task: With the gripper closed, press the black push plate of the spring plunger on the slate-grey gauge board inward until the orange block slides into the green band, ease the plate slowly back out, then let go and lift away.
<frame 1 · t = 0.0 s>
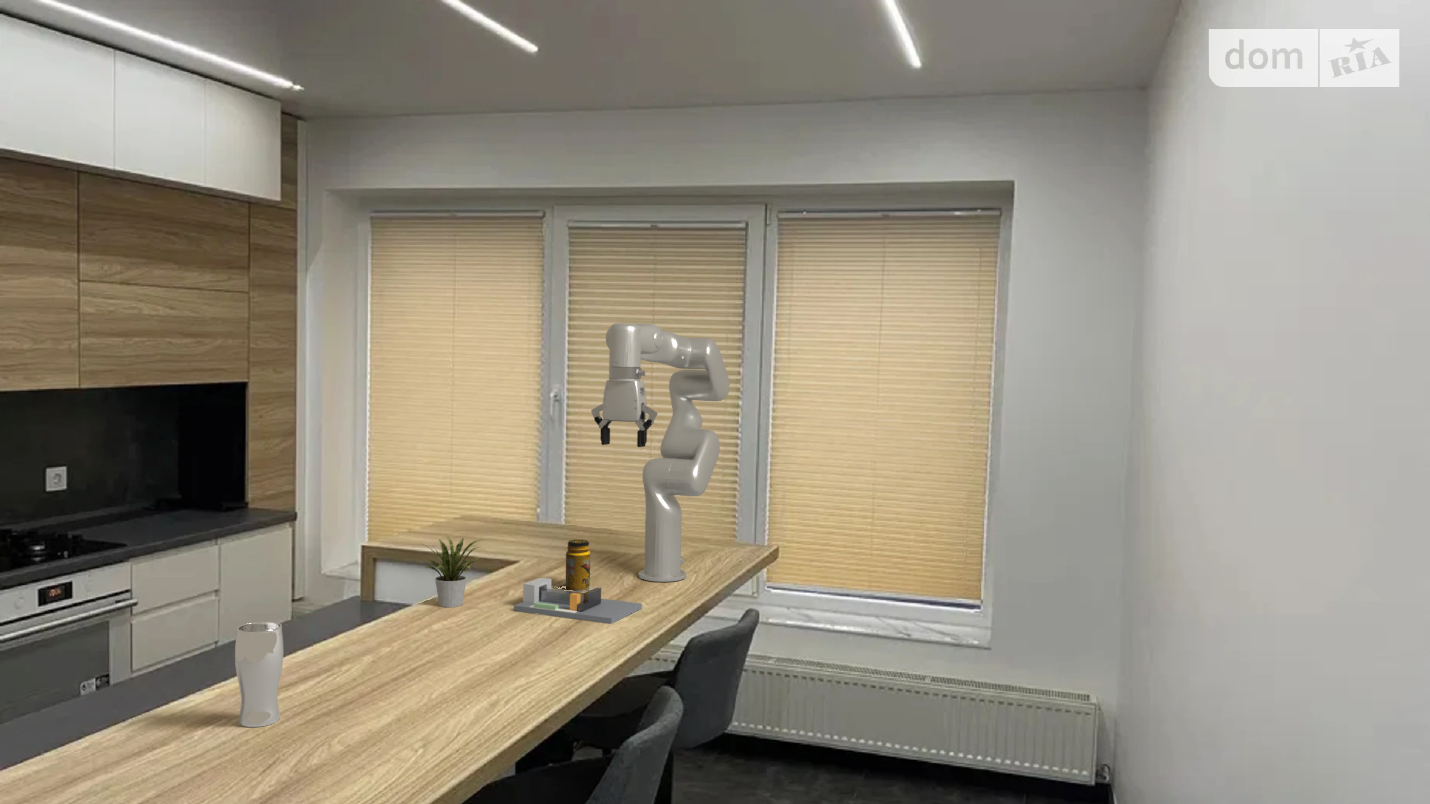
hand: (623, 445, 249), 37 cm above the counter, tool pointing down, fingers open, 9 cm apart
gauge board: (578, 609, 237), on the counter
beer glass: (259, 721, 163), on the counter
house plant: (456, 605, 239), on the counter
condiment: (574, 589, 258), on the counter
plunger: (562, 596, 237), point 3 cm above the counter, slide at 0.0 cm
orange block: (575, 601, 232), point 3 cm above the counter, slide at 0.0 cm
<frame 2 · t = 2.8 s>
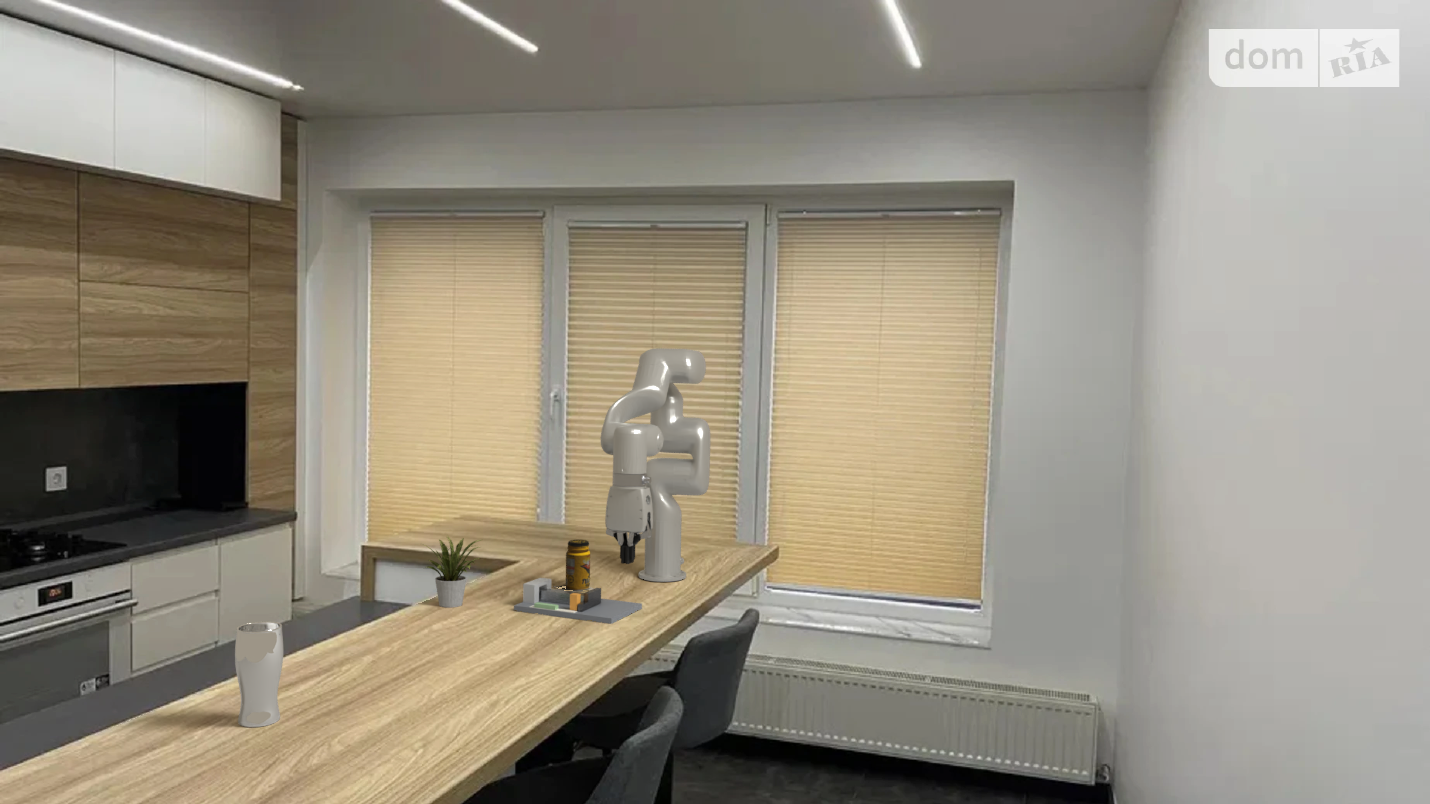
hand: (627, 562, 231), 12 cm above the counter, tool pointing down, fingers closed
nothing on the counter moved.
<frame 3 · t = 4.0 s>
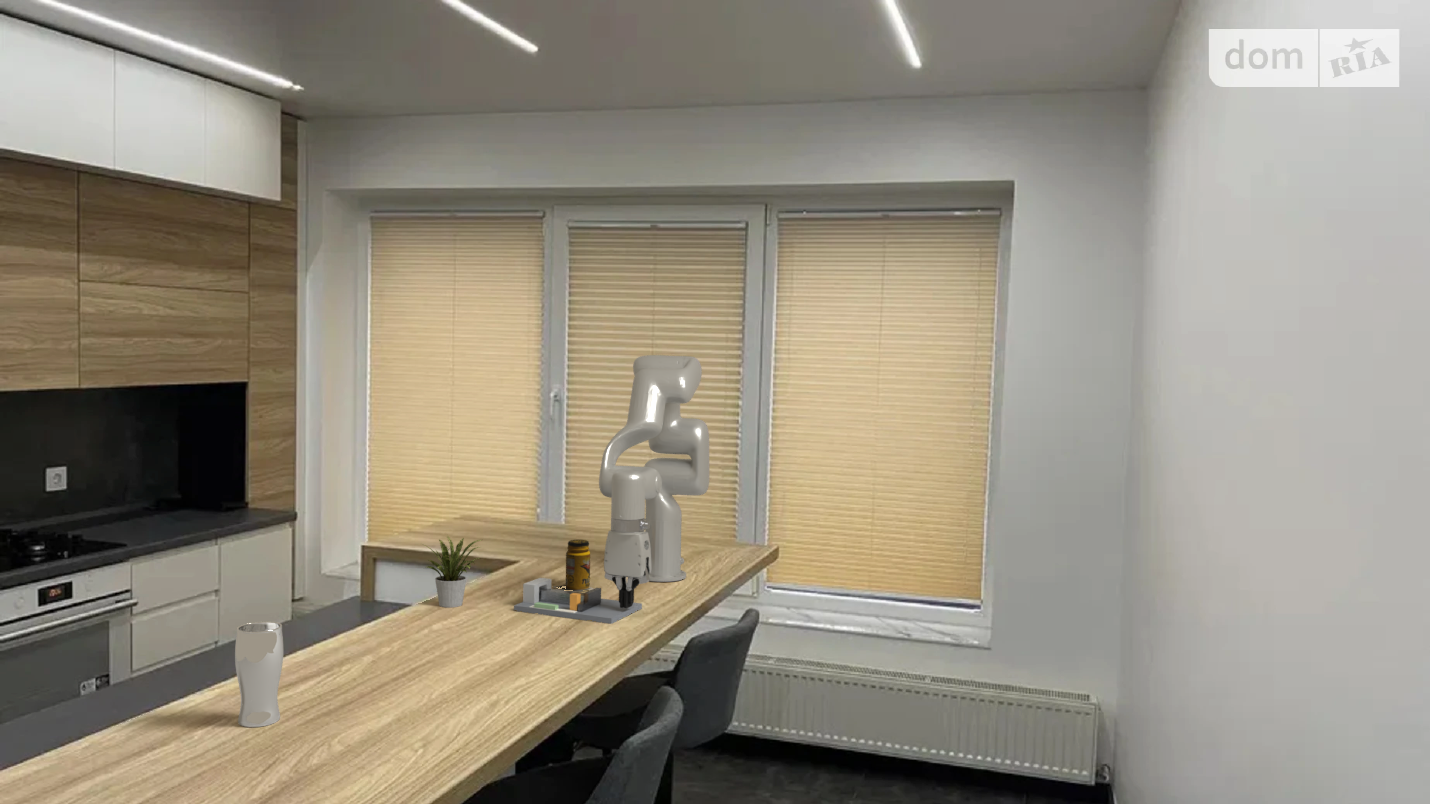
hand: (626, 606, 232), 2 cm above the counter, tool pointing down, fingers closed
nothing on the counter moved.
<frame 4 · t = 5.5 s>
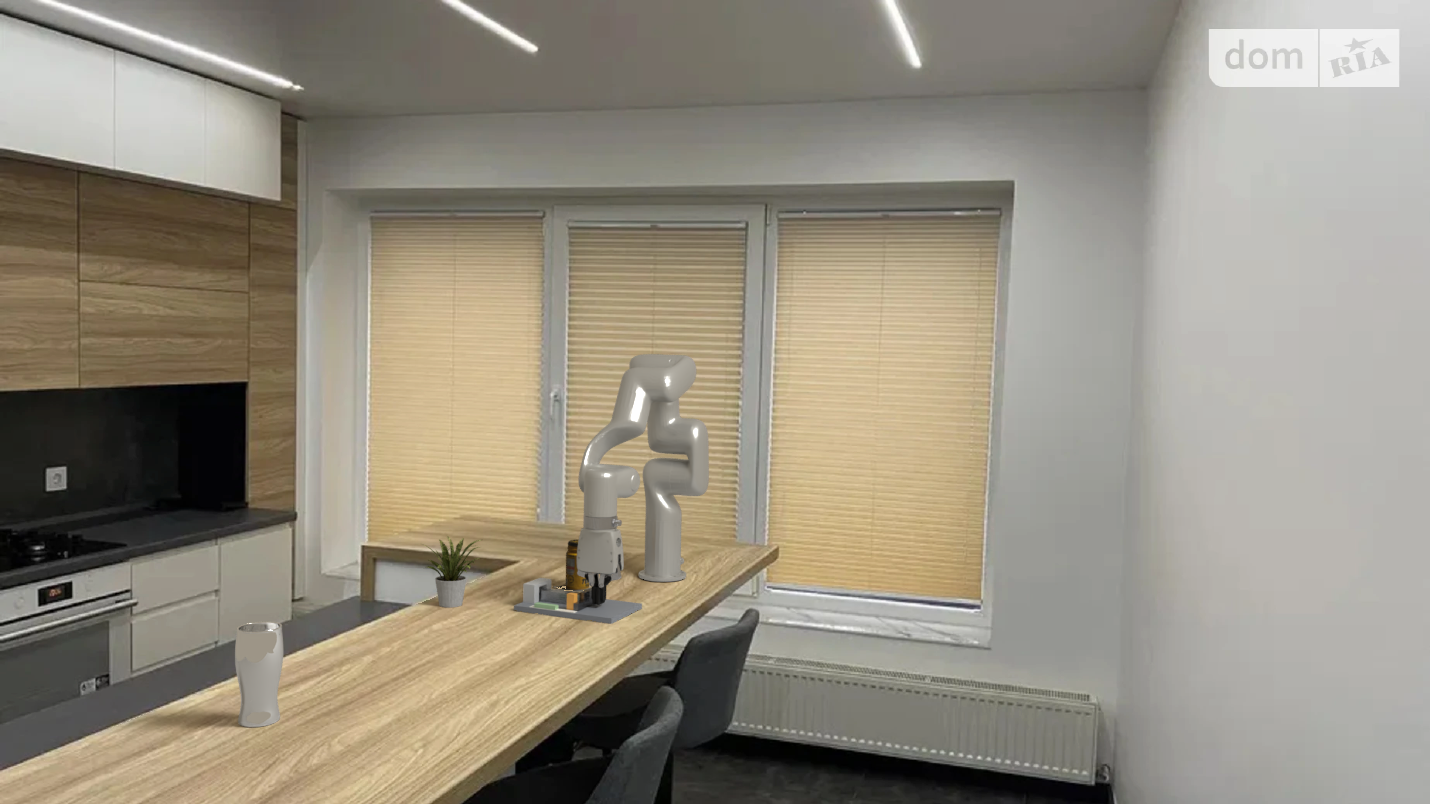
hand: (598, 603, 235), 2 cm above the counter, tool pointing down, fingers closed
plunger: (558, 595, 237), point 3 cm above the counter, slide at 1.1 cm, touching gripper, orange block
orange block: (572, 601, 232), point 3 cm above the counter, slide at 0.8 cm, touching plunger
everything else where it was.
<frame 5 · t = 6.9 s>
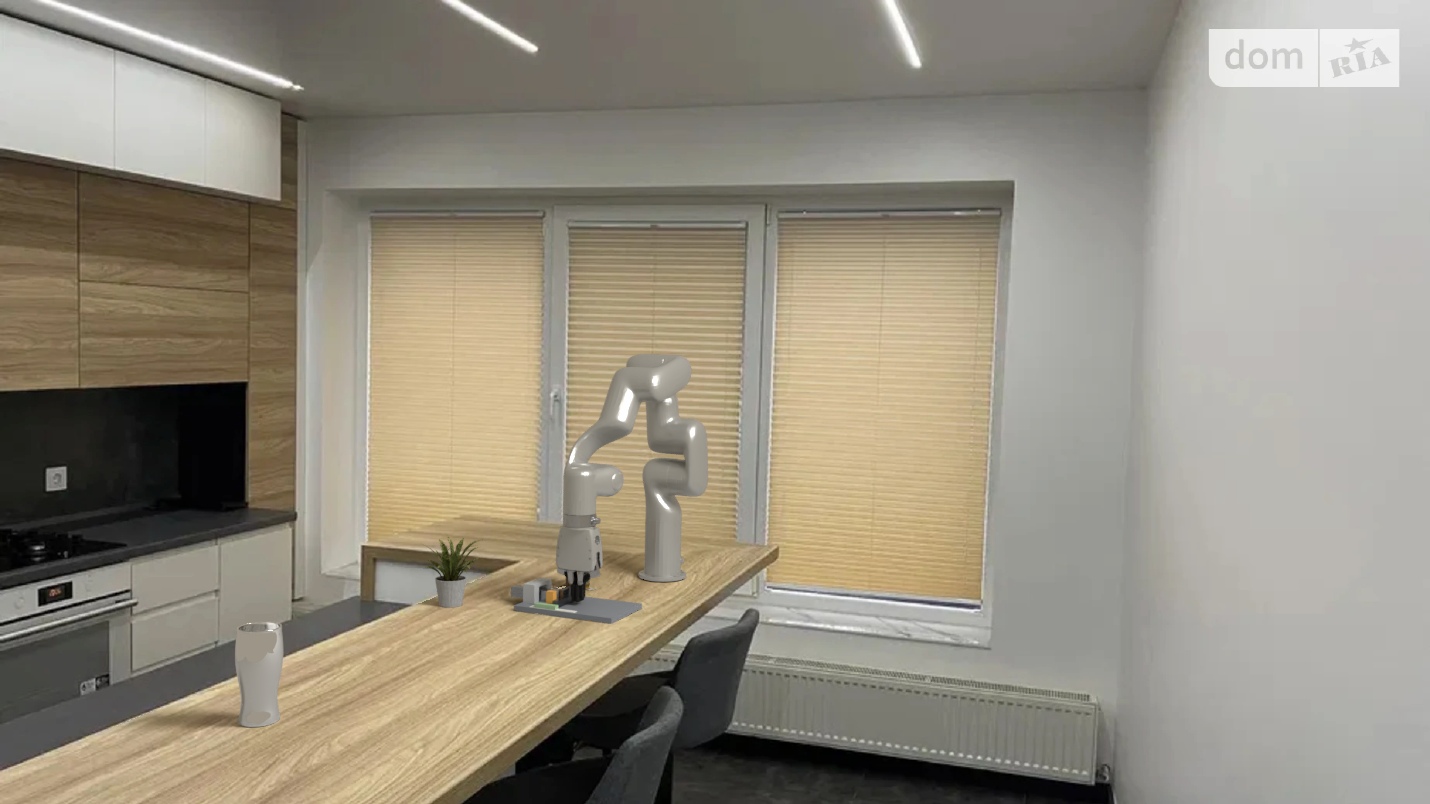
hand: (577, 600, 237), 2 cm above the counter, tool pointing down, fingers closed
plunger: (538, 593, 239), point 3 cm above the counter, slide at 6.5 cm, touching gripper, orange block
orange block: (551, 598, 234), point 3 cm above the counter, slide at 6.2 cm, touching plunger
everything else where it was.
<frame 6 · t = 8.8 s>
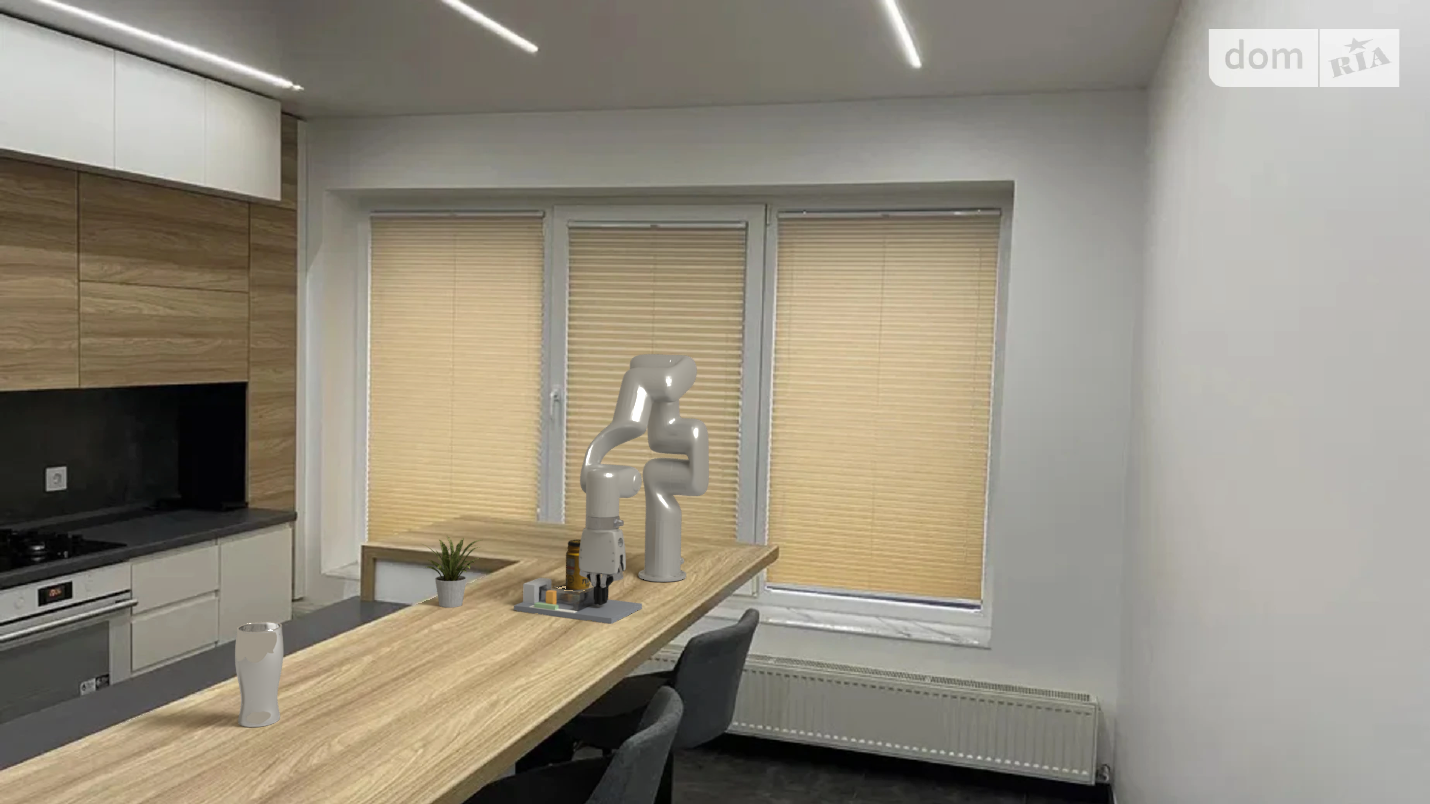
hand: (600, 603, 235), 2 cm above the counter, tool pointing down, fingers closed
plunger: (558, 595, 237), point 3 cm above the counter, slide at 1.1 cm
orange block: (551, 598, 234), point 3 cm above the counter, slide at 6.2 cm
everything else where it was.
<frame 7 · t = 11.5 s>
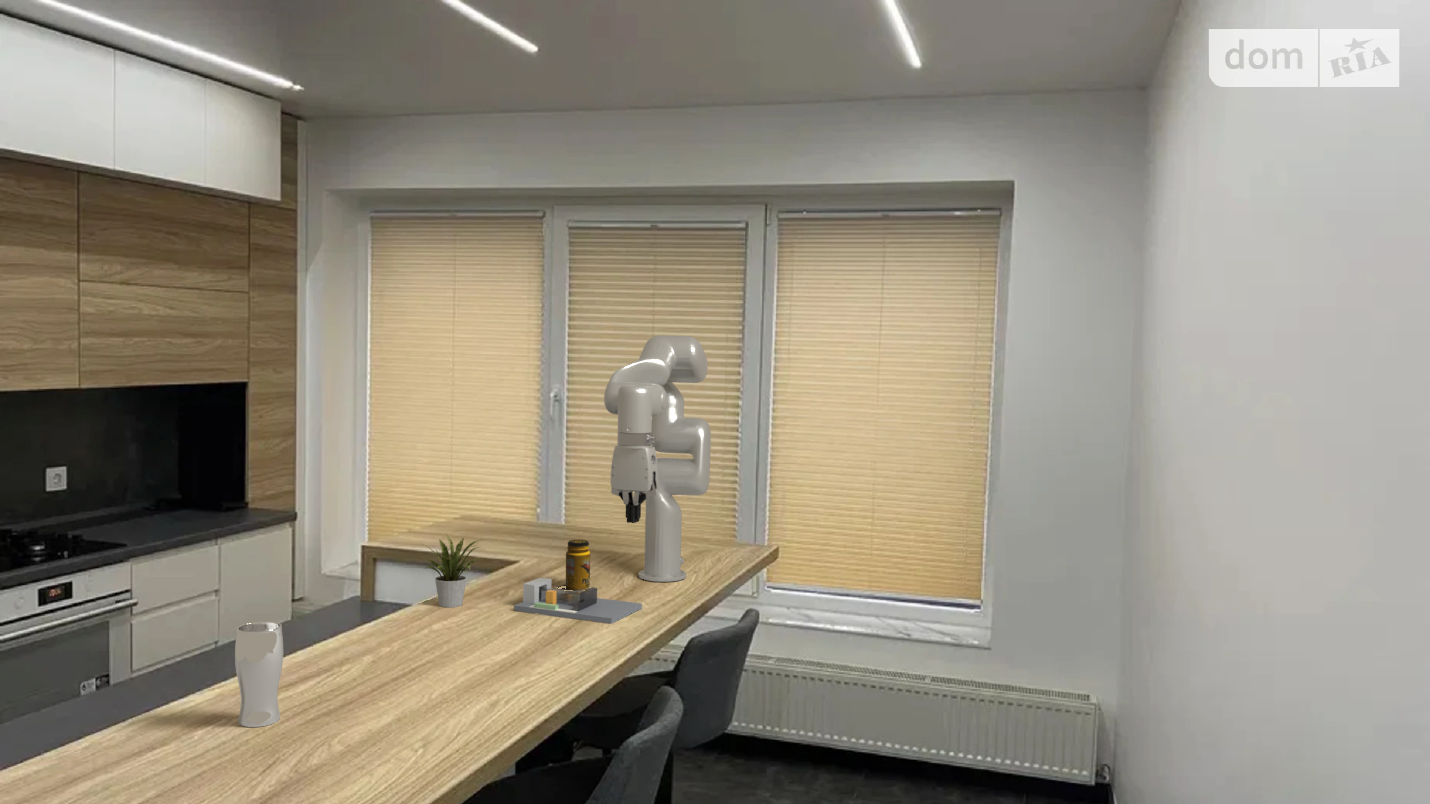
hand: (633, 521, 231), 21 cm above the counter, tool pointing down, fingers closed
nothing on the counter moved.
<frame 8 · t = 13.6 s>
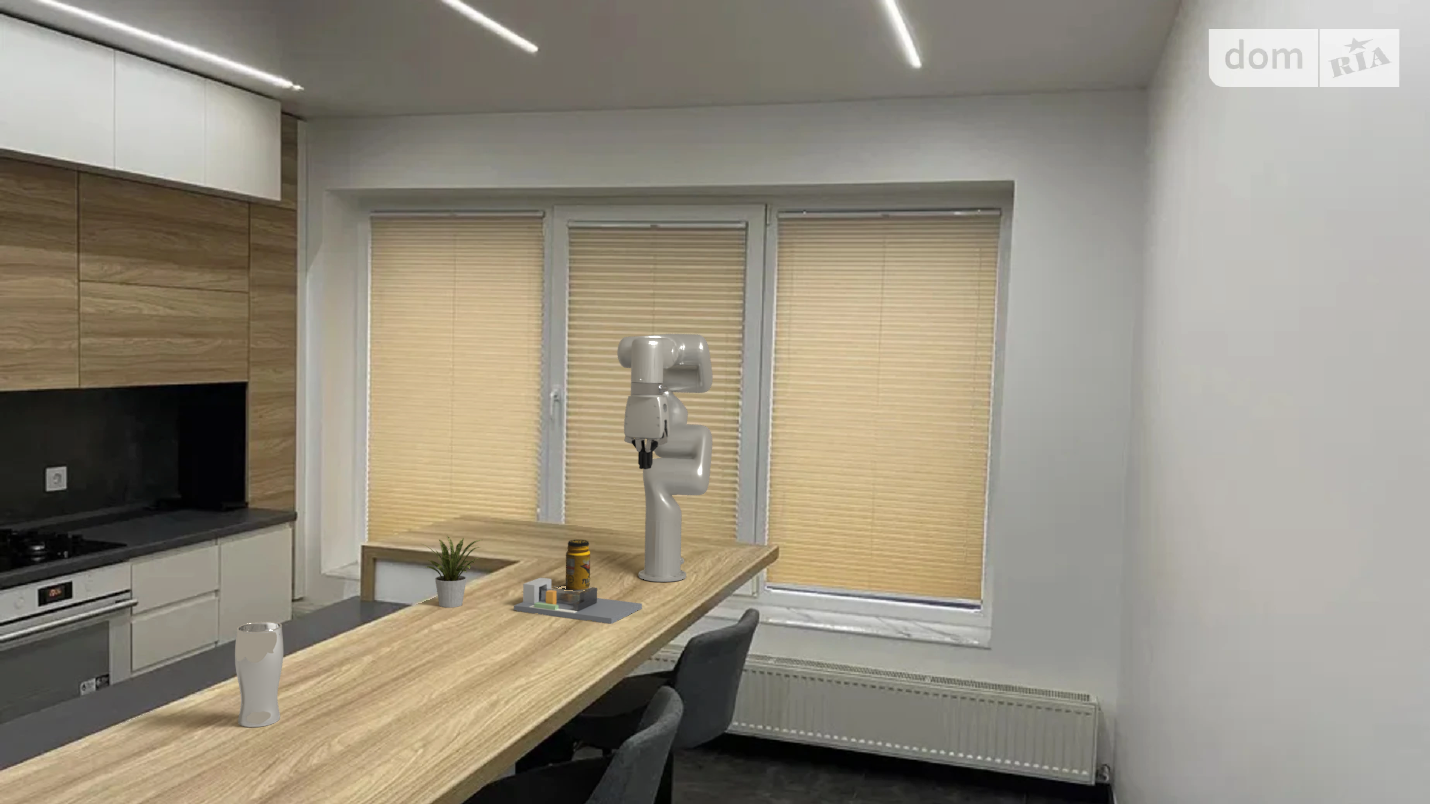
hand: (645, 468, 243), 32 cm above the counter, tool pointing down, fingers closed
nothing on the counter moved.
at the end: orange block slide at 6.2 cm; plunger slide at 1.1 cm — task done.
